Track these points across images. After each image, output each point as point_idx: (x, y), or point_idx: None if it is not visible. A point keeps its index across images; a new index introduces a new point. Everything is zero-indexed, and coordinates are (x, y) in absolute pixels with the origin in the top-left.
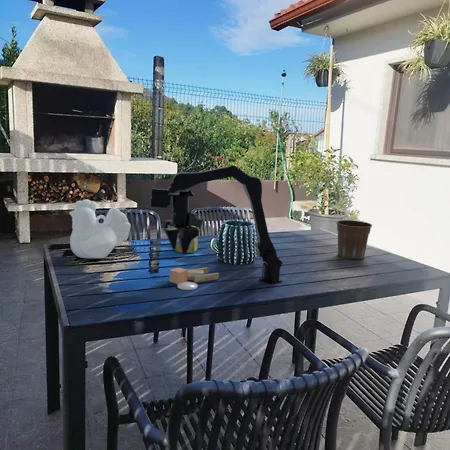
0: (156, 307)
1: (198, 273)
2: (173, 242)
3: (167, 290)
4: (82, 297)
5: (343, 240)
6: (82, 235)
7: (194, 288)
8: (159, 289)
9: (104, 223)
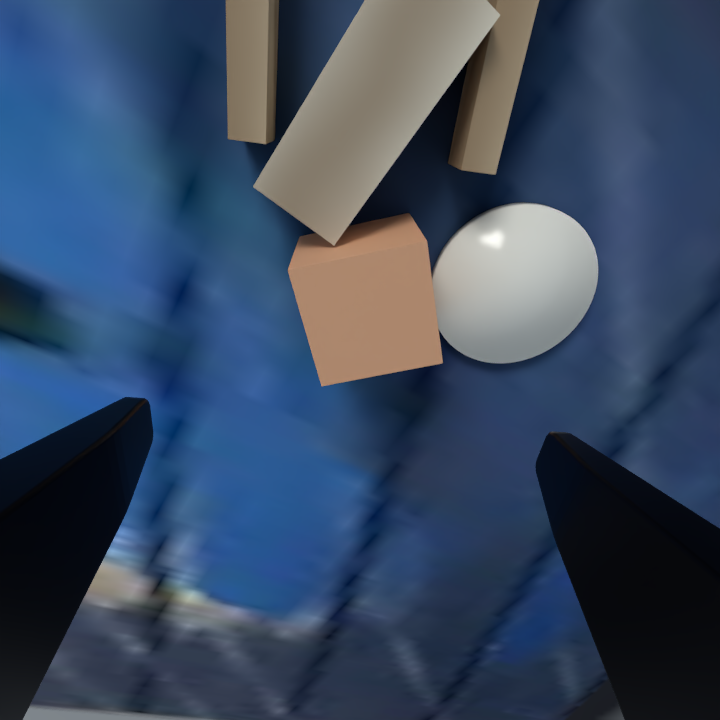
0: None
1: (451, 79)
2: (87, 528)
3: (475, 430)
4: (326, 693)
5: None
6: None
7: (593, 274)
8: (429, 457)
9: None
